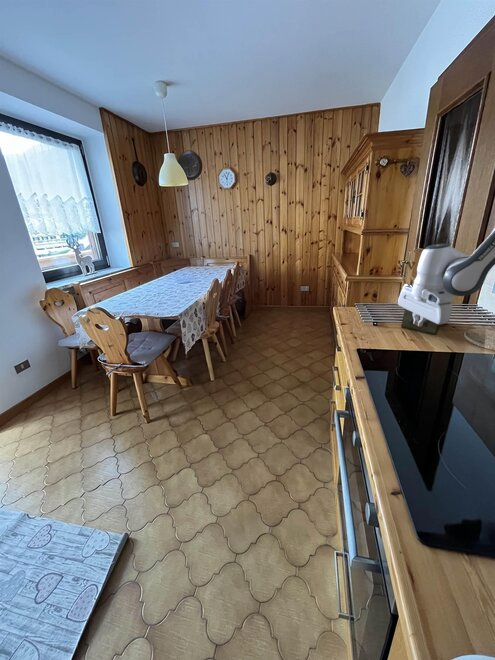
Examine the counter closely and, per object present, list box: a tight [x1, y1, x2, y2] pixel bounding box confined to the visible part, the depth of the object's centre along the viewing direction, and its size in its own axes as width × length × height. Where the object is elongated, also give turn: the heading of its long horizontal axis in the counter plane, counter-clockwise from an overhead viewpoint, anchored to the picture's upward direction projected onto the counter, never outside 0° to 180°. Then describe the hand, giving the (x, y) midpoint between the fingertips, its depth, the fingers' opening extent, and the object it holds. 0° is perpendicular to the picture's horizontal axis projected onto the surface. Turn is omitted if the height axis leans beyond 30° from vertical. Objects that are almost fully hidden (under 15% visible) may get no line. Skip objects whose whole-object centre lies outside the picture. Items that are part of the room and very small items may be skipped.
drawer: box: [402, 309, 438, 334], centre depth 115 cm, size 18×12×8 cm, turn 142°
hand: (417, 324), depth 107 cm, fingers closed
